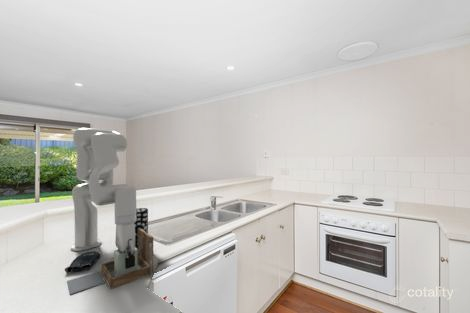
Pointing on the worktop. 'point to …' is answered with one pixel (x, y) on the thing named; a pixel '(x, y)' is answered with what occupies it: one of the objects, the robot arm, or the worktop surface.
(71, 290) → the mat
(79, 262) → the dark blue pouch
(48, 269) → the worktop surface
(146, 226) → the white-spotted black cylinder
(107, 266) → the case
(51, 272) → the worktop surface
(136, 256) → the module
